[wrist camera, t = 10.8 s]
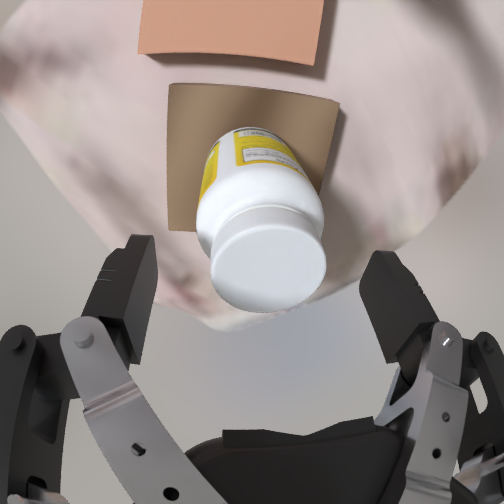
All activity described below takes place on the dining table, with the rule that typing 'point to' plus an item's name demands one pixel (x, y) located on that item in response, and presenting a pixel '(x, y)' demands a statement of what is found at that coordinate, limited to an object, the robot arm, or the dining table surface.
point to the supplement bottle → (260, 223)
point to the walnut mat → (231, 118)
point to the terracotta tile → (233, 28)
